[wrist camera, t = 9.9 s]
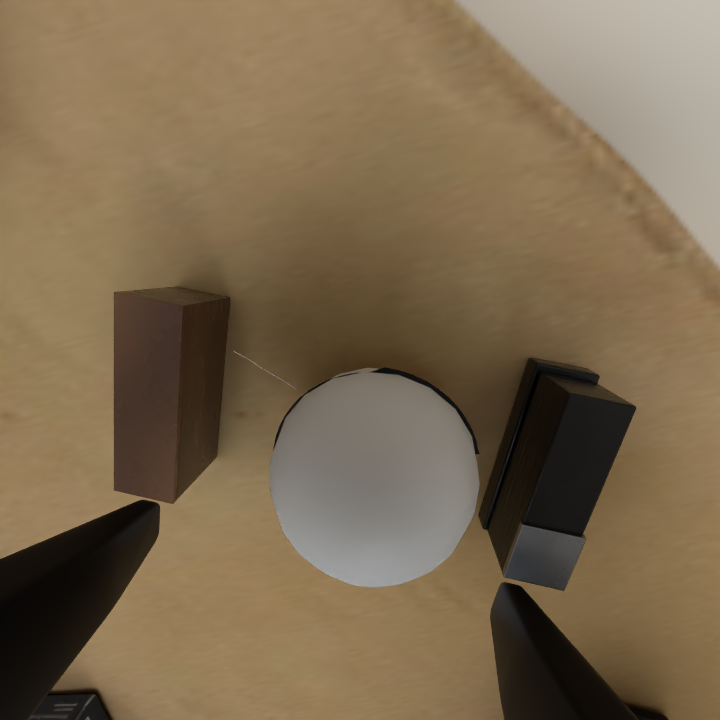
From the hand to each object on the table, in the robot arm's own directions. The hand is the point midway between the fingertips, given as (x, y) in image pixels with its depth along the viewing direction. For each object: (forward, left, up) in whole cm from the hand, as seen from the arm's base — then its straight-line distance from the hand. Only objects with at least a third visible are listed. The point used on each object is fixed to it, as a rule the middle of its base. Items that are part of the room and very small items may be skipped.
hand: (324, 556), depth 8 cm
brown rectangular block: (+8, 0, -8) cm, 11 cm away
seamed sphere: (0, -1, -9) cm, 9 cm away
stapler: (-8, 0, -8) cm, 11 cm away
